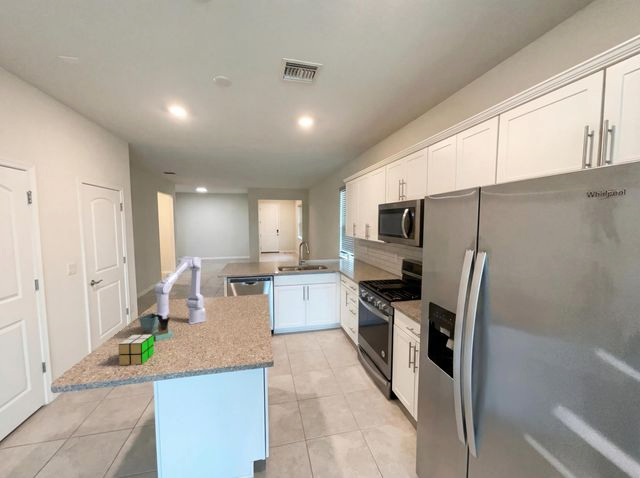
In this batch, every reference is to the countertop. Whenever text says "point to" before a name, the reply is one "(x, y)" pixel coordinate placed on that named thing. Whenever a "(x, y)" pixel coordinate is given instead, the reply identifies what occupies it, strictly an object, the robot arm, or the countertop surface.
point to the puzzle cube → (136, 349)
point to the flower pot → (149, 322)
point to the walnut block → (162, 330)
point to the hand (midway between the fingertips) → (163, 327)
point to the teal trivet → (163, 335)
